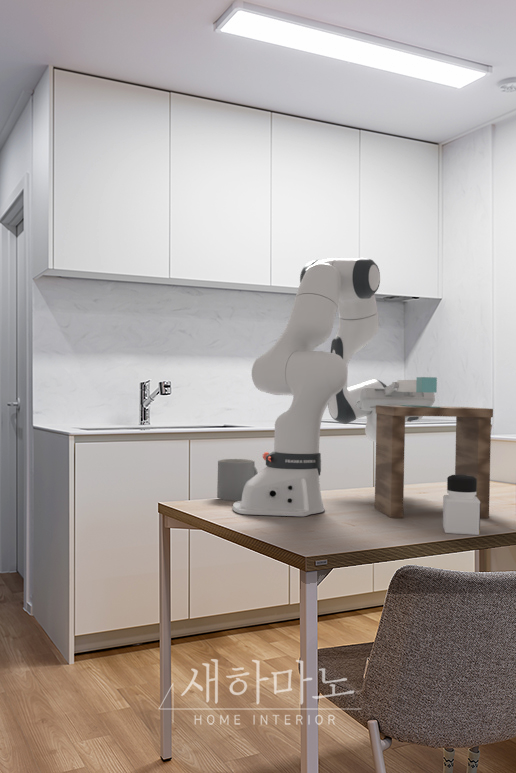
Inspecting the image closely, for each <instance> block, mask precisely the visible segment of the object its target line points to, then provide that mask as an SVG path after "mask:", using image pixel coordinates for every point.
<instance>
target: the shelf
mask: <svg viewBox="0 0 516 773" xmlns="http://www.w3.org/2000/svg"><path fill="white" fill-rule="evenodd" d="M376 413H377V417H376V442H375V470H374V471H375V476H374V477H375V478H374V479H375V480H374V508H375V509H377V510H378V511H379V512H380V513H382V514H384V515H386V517H388V518H391V519H404V496H405V495H404V494H405V492H404V490H405V489H404V488H405V486H404V485H405V445H406V444H405V440H406V439H405V437H406V422H405V416H423V417H446V418H447V417H452V418H453V417H454V418H456V419H455V458H454V459H455V465H454V466H455V468H454V475H470V476H473V477H475V478H476V479H477V488H476V495H475V496H476V497H477V498H478V499H479V501H480V503H481V506H480V519H490V498H491V497H490V489H491V488H490V487H491V486H490V485H491V447H492V446H491V445H492V444H491V442H492V441H491V438H492V437H491V436H492V432H491V431H492V418H494V408H488V407H485V408H484V407H471V406H441V405H440V406H438V405H437V406H434V405H432V406H422V405H402V406H390V405H376Z"/></svg>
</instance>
